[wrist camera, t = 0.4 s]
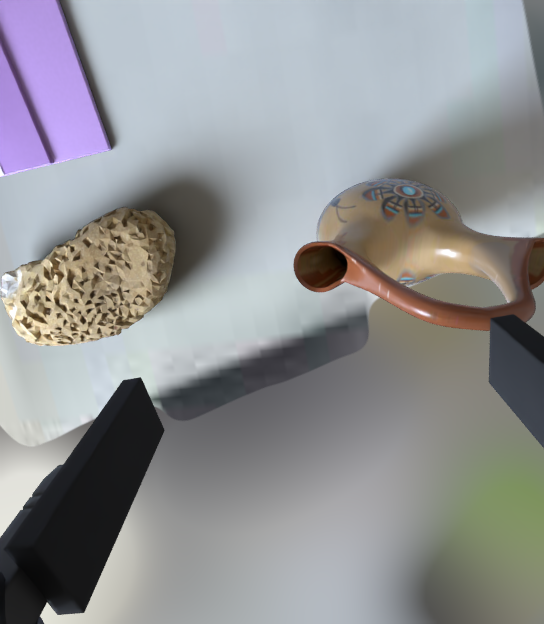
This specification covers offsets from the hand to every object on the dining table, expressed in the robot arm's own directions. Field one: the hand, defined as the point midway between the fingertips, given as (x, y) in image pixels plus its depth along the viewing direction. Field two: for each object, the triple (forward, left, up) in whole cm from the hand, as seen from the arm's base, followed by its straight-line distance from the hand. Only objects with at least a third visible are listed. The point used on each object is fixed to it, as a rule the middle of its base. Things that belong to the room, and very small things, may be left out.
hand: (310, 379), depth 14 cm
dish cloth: (-21, -23, -28) cm, 41 cm away
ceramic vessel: (0, +8, -28) cm, 29 cm away
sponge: (0, -22, -28) cm, 35 cm away
